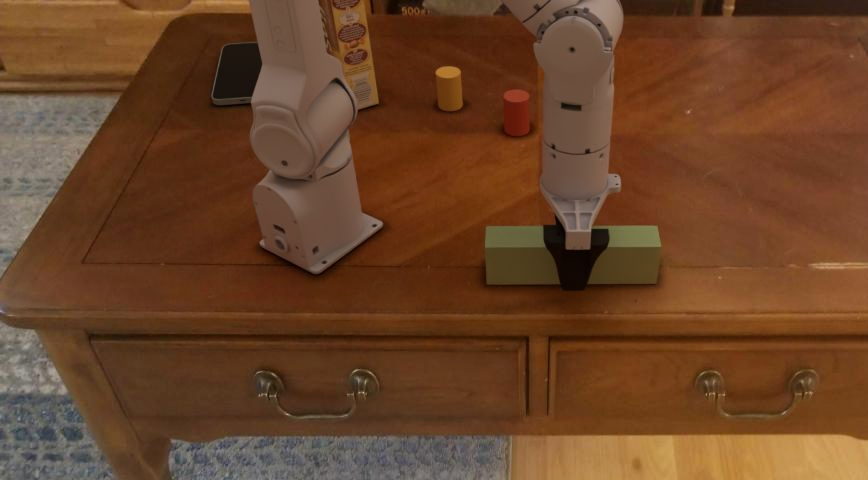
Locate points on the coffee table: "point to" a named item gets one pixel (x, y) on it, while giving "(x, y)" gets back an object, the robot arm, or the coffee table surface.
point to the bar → (533, 264)
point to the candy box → (351, 46)
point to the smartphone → (237, 73)
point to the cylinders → (512, 99)
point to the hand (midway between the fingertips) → (571, 262)
